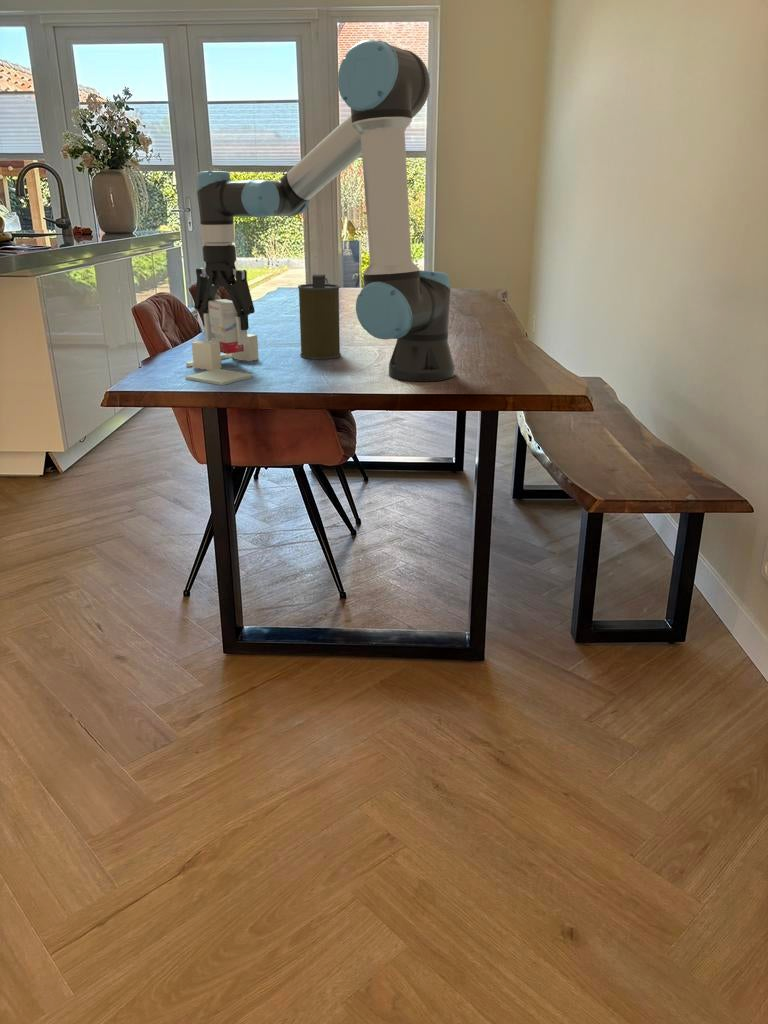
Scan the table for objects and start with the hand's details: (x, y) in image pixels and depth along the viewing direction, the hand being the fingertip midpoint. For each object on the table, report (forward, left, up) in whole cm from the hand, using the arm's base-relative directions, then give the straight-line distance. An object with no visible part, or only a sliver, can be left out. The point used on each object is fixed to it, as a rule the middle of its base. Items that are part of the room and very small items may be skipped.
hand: (226, 342), depth 184 cm
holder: (+2, 0, -5) cm, 5 cm away
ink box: (0, 0, -2) cm, 2 cm away
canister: (-13, -21, -5) cm, 25 cm away
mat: (-9, +13, -5) cm, 17 cm away
